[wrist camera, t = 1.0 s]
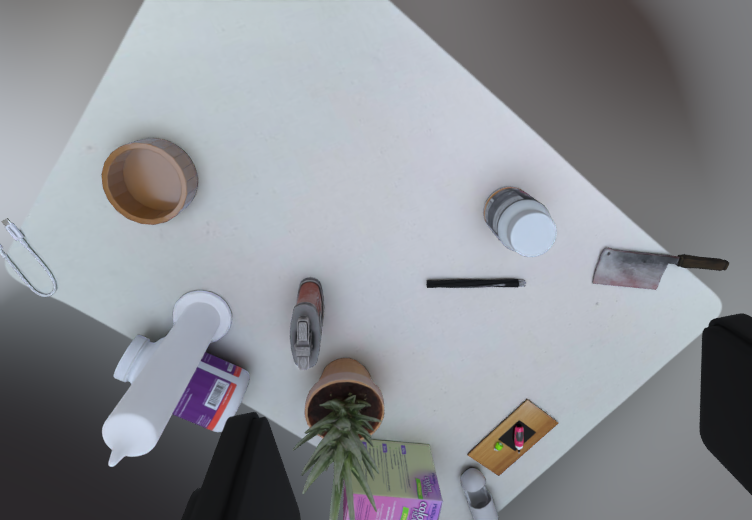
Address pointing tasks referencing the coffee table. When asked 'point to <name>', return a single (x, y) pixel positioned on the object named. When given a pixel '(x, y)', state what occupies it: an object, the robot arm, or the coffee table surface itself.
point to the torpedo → (478, 495)
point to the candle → (165, 375)
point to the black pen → (475, 283)
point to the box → (397, 484)
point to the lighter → (307, 324)
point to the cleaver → (645, 267)
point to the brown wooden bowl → (149, 180)
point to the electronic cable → (19, 236)
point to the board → (513, 438)
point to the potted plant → (343, 428)
